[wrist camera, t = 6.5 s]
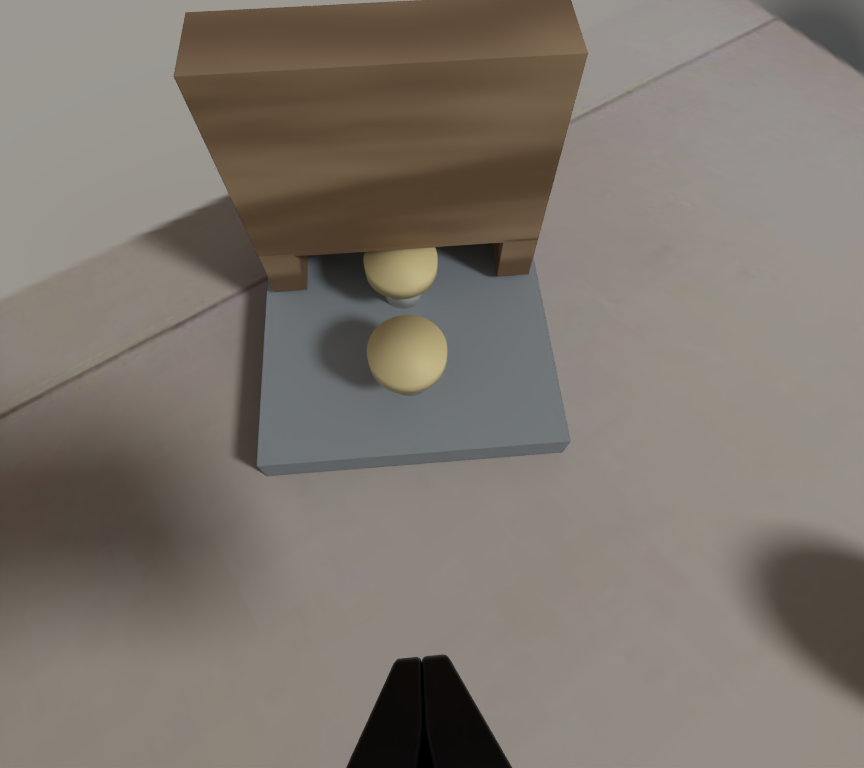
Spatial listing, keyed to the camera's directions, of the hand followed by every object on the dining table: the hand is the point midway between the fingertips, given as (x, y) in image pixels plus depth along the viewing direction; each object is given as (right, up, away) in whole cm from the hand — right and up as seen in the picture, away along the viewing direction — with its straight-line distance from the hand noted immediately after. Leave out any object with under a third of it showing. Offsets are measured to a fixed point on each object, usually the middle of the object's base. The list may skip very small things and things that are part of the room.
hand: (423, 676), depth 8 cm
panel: (-1, +11, +17) cm, 20 cm away
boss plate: (-1, +7, +17) cm, 19 cm away
